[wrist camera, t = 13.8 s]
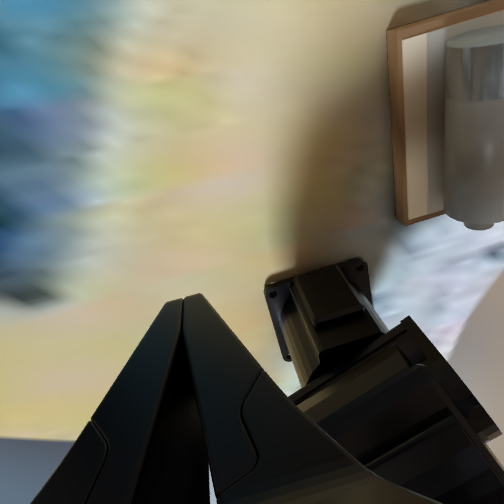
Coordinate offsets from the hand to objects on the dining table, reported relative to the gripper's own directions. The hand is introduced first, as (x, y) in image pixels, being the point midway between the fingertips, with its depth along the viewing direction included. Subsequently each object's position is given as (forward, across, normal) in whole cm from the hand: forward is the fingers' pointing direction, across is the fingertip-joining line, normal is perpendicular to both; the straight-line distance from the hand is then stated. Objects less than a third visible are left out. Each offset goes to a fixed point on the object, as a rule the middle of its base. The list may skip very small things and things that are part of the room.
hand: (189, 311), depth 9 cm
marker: (+11, -14, +2) cm, 18 cm away
